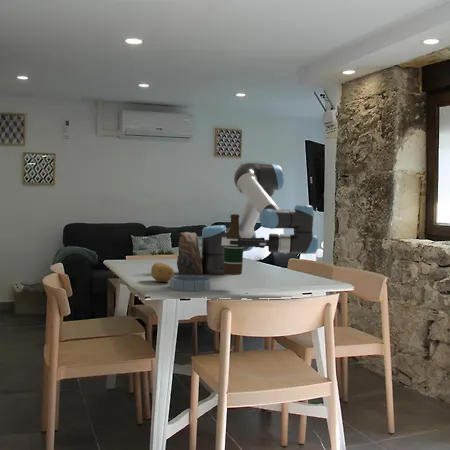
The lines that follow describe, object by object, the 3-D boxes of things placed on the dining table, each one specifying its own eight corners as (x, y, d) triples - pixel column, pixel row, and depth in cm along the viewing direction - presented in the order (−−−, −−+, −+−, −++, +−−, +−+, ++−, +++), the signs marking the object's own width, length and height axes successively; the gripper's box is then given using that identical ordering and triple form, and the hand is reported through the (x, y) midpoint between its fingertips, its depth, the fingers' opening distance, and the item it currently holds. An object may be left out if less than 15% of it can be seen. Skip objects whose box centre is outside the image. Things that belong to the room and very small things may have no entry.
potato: (157, 284, 238) (157, 265, 238) (146, 280, 250) (147, 262, 250) (179, 284, 242) (179, 265, 242) (167, 279, 255) (168, 261, 254)
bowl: (172, 284, 240) (172, 274, 240) (210, 285, 240) (211, 276, 240) (168, 290, 224) (168, 280, 224) (209, 291, 224) (209, 281, 224)
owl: (176, 274, 272) (178, 232, 271) (174, 271, 284) (175, 231, 283) (203, 275, 274) (204, 233, 273) (199, 271, 287) (200, 231, 286)
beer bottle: (225, 275, 227) (227, 214, 226) (221, 272, 235) (223, 213, 234) (244, 275, 229) (246, 215, 227) (240, 272, 236) (242, 214, 235)
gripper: (280, 255, 221) (220, 252, 221) (276, 250, 241) (221, 248, 241) (281, 235, 220) (221, 233, 221) (277, 232, 241) (222, 230, 241)
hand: (221, 241), depth 231 cm, fingers closed on beer bottle, 7 cm apart
